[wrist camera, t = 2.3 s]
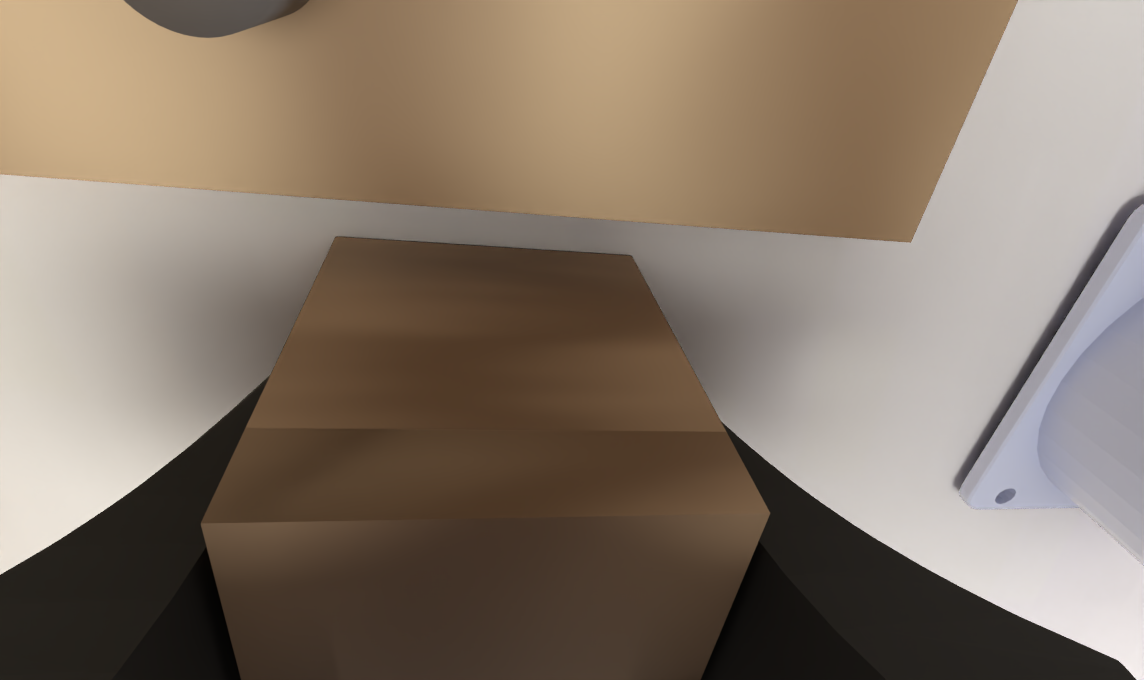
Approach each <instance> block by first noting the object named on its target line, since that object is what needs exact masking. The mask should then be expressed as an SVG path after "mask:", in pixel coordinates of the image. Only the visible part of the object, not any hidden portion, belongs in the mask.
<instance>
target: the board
mask: <svg viewBox="0 0 1144 680" xmlns="http://www.w3.org/2000/svg"><path fill="white" fill-rule="evenodd" d="M1017 1H1018V0H0V174H5V175H18V176H32V177H45V178H58V179H72V180H85V181H98V182H112V183H125V184H138V185H152V186H165V187H178V188H191V189H205V190H218V191H231V192H245V193H258V194H271V195H285V196H298V197H311V198H325V199H338V200H351V201H365V202H378V203H391V204H405V205H418V206H431V207H444V208H458V209H471V210H484V211H498V212H511V213H524V214H538V215H551V216H564V217H578V218H591V219H604V220H618V221H631V222H644V223H658V224H671V225H684V226H697V227H711V228H724V229H737V230H751V231H764V232H777V233H791V234H804V235H817V236H831V237H844V238H857V239H871V240H884V241H897V242H910V243H911V241H912V239H913V236H914V234H915V232H916V230H917V227H918V225H919V223H920V220H921V218H922V216H923V214H924V211H925V209H926V207H927V205H928V202H929V200H930V198H931V196H932V193H933V191H934V189H935V187H936V184H937V182H938V180H939V178H940V175H941V173H942V171H943V169H944V166H945V164H946V162H947V160H948V157H949V155H950V153H951V150H952V148H953V146H954V144H955V141H956V139H957V137H958V135H959V132H960V130H961V128H962V126H963V123H964V121H965V119H966V117H967V114H968V112H969V110H970V108H971V105H972V103H973V101H974V99H975V96H976V94H977V92H978V90H979V87H980V85H981V83H982V80H983V78H984V76H985V74H986V71H987V69H988V67H989V65H990V62H991V60H992V58H993V56H994V53H995V51H996V49H997V47H998V44H999V42H1000V40H1001V38H1002V35H1003V33H1004V31H1005V29H1006V26H1007V24H1008V22H1009V20H1010V17H1011V15H1012V13H1013V10H1014V8H1015V6H1016V4H1017Z"/></svg>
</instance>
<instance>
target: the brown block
mask: <svg viewBox="0 0 1144 680" xmlns="http://www.w3.org/2000/svg"><path fill="white" fill-rule="evenodd" d="M769 515H770V512H769V510H768V508H767V506H766V504H765V502H764V501H763V499H762V497H761V495H760V493H759V491H758V489H757V488H756V486H755V484H754V482H753V480H752V478H751V476H750V475H749V473H748V471H747V469H746V467H745V465H744V463H743V462H742V460H741V458H740V456H739V454H738V452H737V450H736V449H735V447H734V445H733V443H732V441H731V439H730V437H729V436H728V434H727V432H726V430H725V428H724V426H723V425H722V423H721V421H720V419H719V417H718V415H717V413H716V412H715V410H714V408H713V406H712V404H711V402H710V400H709V399H708V397H707V395H706V393H705V391H704V389H703V387H702V386H701V384H700V382H699V380H698V378H697V376H696V374H695V373H694V371H693V369H692V367H691V365H690V363H689V361H688V360H687V358H686V356H685V354H684V352H683V350H682V348H681V347H680V345H679V343H678V341H677V339H676V337H675V335H674V334H673V332H672V330H671V328H670V326H669V324H668V322H667V321H666V319H665V317H664V315H663V313H662V311H661V309H660V308H659V306H658V304H657V302H656V300H655V298H654V296H653V295H652V293H651V291H650V289H649V287H648V285H647V283H646V282H645V280H644V278H643V276H642V274H641V272H640V270H639V269H638V267H637V265H636V263H635V261H634V259H633V257H632V256H627V255H612V254H596V253H580V252H565V251H549V250H534V249H518V248H503V247H487V246H472V245H456V244H441V243H425V242H409V241H394V240H378V239H363V238H347V237H335V239H334V241H333V243H332V245H331V248H330V250H329V252H328V254H327V256H326V258H325V260H324V262H323V265H322V267H321V269H320V271H319V273H318V275H317V277H316V279H315V282H314V284H313V286H312V288H311V290H310V292H309V294H308V296H307V299H306V301H305V303H304V305H303V307H302V309H301V311H300V313H299V316H298V318H297V320H296V322H295V324H294V326H293V328H292V330H291V333H290V335H289V337H288V339H287V341H286V343H285V345H284V347H283V349H282V352H281V354H280V356H279V358H278V360H277V362H276V364H275V366H274V369H273V371H272V373H271V375H270V377H269V379H268V381H267V383H266V386H265V388H264V390H263V392H262V394H261V396H260V398H259V400H258V403H257V405H256V407H255V409H254V411H253V413H252V415H251V417H250V420H249V422H248V424H247V426H246V428H245V430H244V432H243V434H242V437H241V439H240V441H239V443H238V445H237V447H236V449H235V451H234V454H233V456H232V458H231V460H230V462H229V464H228V466H227V468H226V471H225V473H224V475H223V477H222V479H221V481H220V483H219V485H218V488H217V490H216V492H215V494H214V496H213V498H212V500H211V502H210V505H209V507H208V509H207V511H206V513H205V515H204V517H203V519H202V522H201V527H202V531H203V535H204V539H205V543H206V547H207V550H208V554H209V558H210V562H211V566H212V570H213V574H214V577H215V581H216V585H217V589H218V593H219V597H220V600H221V604H222V608H223V612H224V616H225V620H226V624H227V627H228V631H229V635H230V639H231V643H232V647H233V650H234V654H235V658H236V662H237V666H238V670H239V674H240V677H241V680H701V678H702V675H703V673H704V670H705V668H706V666H707V663H708V661H709V658H710V656H711V654H712V651H713V649H714V647H715V644H716V642H717V639H718V637H719V635H720V632H721V630H722V627H723V625H724V623H725V620H726V618H727V615H728V613H729V611H730V608H731V606H732V604H733V601H734V599H735V596H736V594H737V592H738V589H739V587H740V584H741V582H742V580H743V577H744V575H745V572H746V570H747V568H748V565H749V563H750V561H751V558H752V556H753V553H754V551H755V549H756V546H757V544H758V541H759V539H760V537H761V534H762V532H763V529H764V527H765V525H766V522H767V520H768V518H769Z"/></svg>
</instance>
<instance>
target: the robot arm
mask: <svg viewBox="0 0 1144 680" xmlns="http://www.w3.org/2000/svg"><path fill="white" fill-rule="evenodd" d="M269 377H270V376H269ZM269 377H268V378H267V379H265V380H264V381H263V382H262V383H261V384H260V385H259V386H258V387H257V388H256V389H254V390H253V391H252V392H251V393H250V394H249V395H248V396H247V397H246V398H245V399H243V400H242V401H241V402H240V403H239V404H238V405H237V406H236V407H235V408H233V409H232V410H231V411H230V412H229V413H228V414H227V415H226V416H224V417H223V418H222V419H221V420H220V421H219V422H217V423H216V424H215V425H214V426H213V427H212V428H210V429H209V430H208V431H207V432H206V433H205V434H204V435H202V436H201V437H200V438H199V439H198V440H197V441H195V442H194V443H193V444H192V445H191V446H189V447H188V448H187V449H186V450H184V451H183V452H182V453H181V454H179V455H178V456H177V457H176V458H174V459H173V460H172V461H170V462H169V463H168V464H167V465H165V466H164V467H163V468H162V469H160V470H159V471H158V472H156V473H155V474H154V475H153V476H151V477H150V478H149V479H147V480H146V481H145V482H144V483H142V484H141V485H140V486H138V487H137V488H135V489H134V490H133V491H131V492H130V493H129V494H127V495H126V496H124V497H123V498H121V499H120V500H119V501H117V502H116V503H114V504H113V505H111V506H110V507H109V508H107V509H106V510H104V511H103V512H101V513H100V514H98V515H97V516H95V517H94V518H92V519H91V520H89V521H88V522H86V523H84V524H83V525H81V526H80V527H78V528H77V529H75V530H74V531H72V532H71V533H69V534H68V535H66V536H65V537H63V538H62V539H60V540H58V541H57V542H55V543H54V544H52V545H50V546H49V547H47V548H45V549H44V550H42V551H40V552H39V553H37V554H35V555H33V556H32V557H30V558H28V559H27V560H25V561H23V562H21V563H20V564H18V565H16V566H15V567H13V568H11V569H9V570H8V571H6V572H4V573H3V574H1V575H0V680H241V677H240V674H239V670H238V666H237V662H236V658H235V654H234V650H233V647H232V643H231V639H230V635H229V631H228V627H227V624H226V620H225V616H224V612H223V608H222V604H221V600H220V597H219V593H218V589H217V585H216V581H215V577H214V574H213V570H212V566H211V562H210V558H209V554H208V550H207V547H206V543H205V539H204V535H203V531H202V527H201V522H202V519H203V517H204V515H205V513H206V511H207V509H208V507H209V505H210V502H211V500H212V498H213V496H214V494H215V492H216V490H217V488H218V485H219V483H220V481H221V479H222V477H223V475H224V473H225V471H226V468H227V466H228V464H229V462H230V460H231V458H232V456H233V454H234V451H235V449H236V447H237V445H238V443H239V441H240V439H241V437H242V434H243V432H244V430H245V428H246V426H247V424H248V422H249V420H250V417H251V415H252V413H253V411H254V409H255V407H256V405H257V403H258V400H259V398H260V396H261V394H262V392H263V390H264V388H265V386H266V383H267V381H268V379H269ZM721 423H722V422H721ZM722 425H723V426H724V428H725V430H726V432H727V434H728V436H729V437H730V439H731V441H732V443H733V445H734V447H735V449H736V450H737V452H738V454H739V456H740V458H741V460H742V462H743V463H744V465H745V467H746V469H747V471H748V473H749V475H750V476H751V478H752V480H753V482H754V484H755V486H756V488H757V489H758V491H759V493H760V495H761V497H762V499H763V501H764V502H765V504H766V506H767V508H768V510H769V512H770V515H769V518H768V520H767V522H766V525H765V527H764V529H763V532H762V534H761V537H760V539H759V541H758V544H757V546H756V549H755V551H754V553H753V556H752V558H751V561H750V563H749V565H748V568H747V570H746V572H745V575H744V577H743V580H742V582H741V584H740V587H739V589H738V592H737V594H736V596H735V599H734V601H733V604H732V606H731V608H730V611H729V613H728V615H727V618H726V620H725V623H724V625H723V627H722V630H721V632H720V635H719V637H718V639H717V642H716V644H715V647H714V649H713V651H712V654H711V656H710V658H709V661H708V663H707V666H706V668H705V670H704V673H703V675H702V678H701V680H1136V679H1135V678H1134V677H1133V675H1132V674H1131V673H1130V672H1129V671H1128V670H1127V669H1126V668H1125V667H1124V666H1123V665H1122V664H1121V663H1120V662H1119V661H1118V660H1116V659H1113V658H1111V657H1109V656H1107V655H1104V654H1102V653H1100V652H1098V651H1095V650H1093V649H1091V648H1089V647H1086V646H1084V645H1082V644H1080V643H1077V642H1075V641H1073V640H1071V639H1068V638H1066V637H1064V636H1062V635H1059V634H1057V633H1055V632H1053V631H1050V630H1048V629H1046V628H1044V627H1041V626H1039V625H1037V624H1035V623H1032V622H1030V621H1028V620H1026V619H1023V618H1021V617H1019V616H1017V615H1015V614H1013V613H1011V612H1009V611H1007V610H1005V609H1003V608H1001V607H999V606H997V605H995V604H993V603H991V602H989V601H987V600H985V599H983V598H981V597H979V596H977V595H975V594H973V593H971V592H969V591H967V590H965V589H963V588H961V587H959V586H957V585H955V584H954V583H952V582H950V581H948V580H946V579H944V578H942V577H941V576H939V575H937V574H935V573H933V572H931V571H930V570H928V569H926V568H924V567H922V566H921V565H919V564H917V563H915V562H914V561H912V560H910V559H909V558H907V557H905V556H904V555H902V554H900V553H899V552H897V551H895V550H893V549H892V548H890V547H888V546H887V545H885V544H883V543H882V542H880V541H878V540H877V539H875V538H873V537H872V536H870V535H869V534H867V533H866V532H864V531H862V530H861V529H859V528H858V527H856V526H855V525H853V524H852V523H850V522H849V521H847V520H846V519H844V518H843V517H841V516H840V515H838V514H837V513H835V512H834V511H833V510H831V509H830V508H828V507H827V506H825V505H824V504H822V503H821V502H819V501H818V500H817V499H815V498H814V497H812V496H811V495H810V494H808V493H807V492H806V491H804V490H803V489H802V488H800V487H799V486H798V485H796V484H795V483H794V482H792V481H791V480H790V479H789V478H787V477H786V476H785V475H784V474H782V473H781V472H780V471H779V470H777V469H776V468H775V467H774V466H772V465H771V464H770V463H768V462H767V461H766V460H765V459H764V458H762V457H761V456H760V455H759V454H758V453H756V452H755V451H754V450H753V449H752V448H751V447H749V446H748V445H747V444H746V443H745V442H744V441H742V440H741V439H740V438H739V437H738V436H737V435H736V434H735V433H733V432H732V431H731V430H730V429H729V428H728V427H727V426H726V425H724V424H723V423H722ZM959 494H960V497H961V498H962V499H963V500H964V501H965V503H966V504H967V505H968V506H969V507H971V508H973V509H1028V508H1081V509H1082V510H1083V511H1084V512H1085V513H1086V514H1087V515H1088V516H1089V517H1090V518H1092V519H1093V520H1094V521H1095V522H1096V523H1097V524H1098V525H1099V526H1100V527H1102V528H1103V529H1104V530H1105V531H1106V532H1107V533H1108V534H1109V535H1110V536H1111V537H1113V538H1114V539H1115V540H1116V541H1117V542H1118V543H1119V544H1120V545H1121V546H1122V547H1124V548H1125V549H1126V550H1127V551H1128V552H1129V553H1130V554H1131V555H1132V556H1133V557H1135V558H1136V559H1137V560H1138V561H1139V562H1140V563H1141V564H1142V565H1143V566H1144V204H1142V205H1141V206H1140V207H1138V208H1137V209H1136V210H1135V211H1134V212H1133V213H1132V214H1131V215H1130V217H1129V218H1128V219H1127V221H1126V222H1125V224H1124V225H1123V227H1122V229H1121V230H1120V232H1119V233H1118V235H1117V237H1116V238H1115V240H1114V241H1113V243H1112V245H1111V246H1110V248H1109V250H1108V251H1107V253H1106V254H1105V256H1104V258H1103V259H1102V261H1101V262H1100V264H1099V266H1098V267H1097V269H1096V270H1095V272H1094V274H1093V275H1092V277H1091V278H1090V280H1089V282H1088V283H1087V285H1086V286H1085V288H1084V290H1083V291H1082V293H1081V294H1080V296H1079V298H1078V299H1077V301H1076V302H1075V304H1074V306H1073V307H1072V309H1071V310H1070V312H1069V314H1068V315H1067V317H1066V318H1065V320H1064V322H1063V323H1062V325H1061V326H1060V328H1059V330H1058V331H1057V333H1056V334H1055V336H1054V338H1053V339H1052V341H1051V342H1050V344H1049V346H1048V347H1047V349H1046V350H1045V352H1044V354H1043V355H1042V357H1041V358H1040V360H1039V362H1038V363H1037V365H1036V366H1035V368H1034V370H1033V371H1032V373H1031V374H1030V376H1029V378H1028V379H1027V381H1026V382H1025V384H1024V386H1023V387H1022V389H1021V390H1020V392H1019V394H1018V395H1017V397H1016V399H1015V400H1014V402H1013V403H1012V405H1011V407H1010V408H1009V410H1008V411H1007V413H1006V415H1005V416H1004V418H1003V419H1002V421H1001V423H1000V424H999V426H998V427H997V429H996V431H995V432H994V434H993V435H992V437H991V439H990V440H989V442H988V443H987V445H986V447H985V448H984V450H983V451H982V453H981V455H980V456H979V458H978V459H977V461H976V463H975V464H974V466H973V467H972V469H971V471H970V472H969V474H968V475H967V477H966V479H965V480H964V482H963V483H962V485H961V488H960V490H959Z"/></svg>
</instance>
